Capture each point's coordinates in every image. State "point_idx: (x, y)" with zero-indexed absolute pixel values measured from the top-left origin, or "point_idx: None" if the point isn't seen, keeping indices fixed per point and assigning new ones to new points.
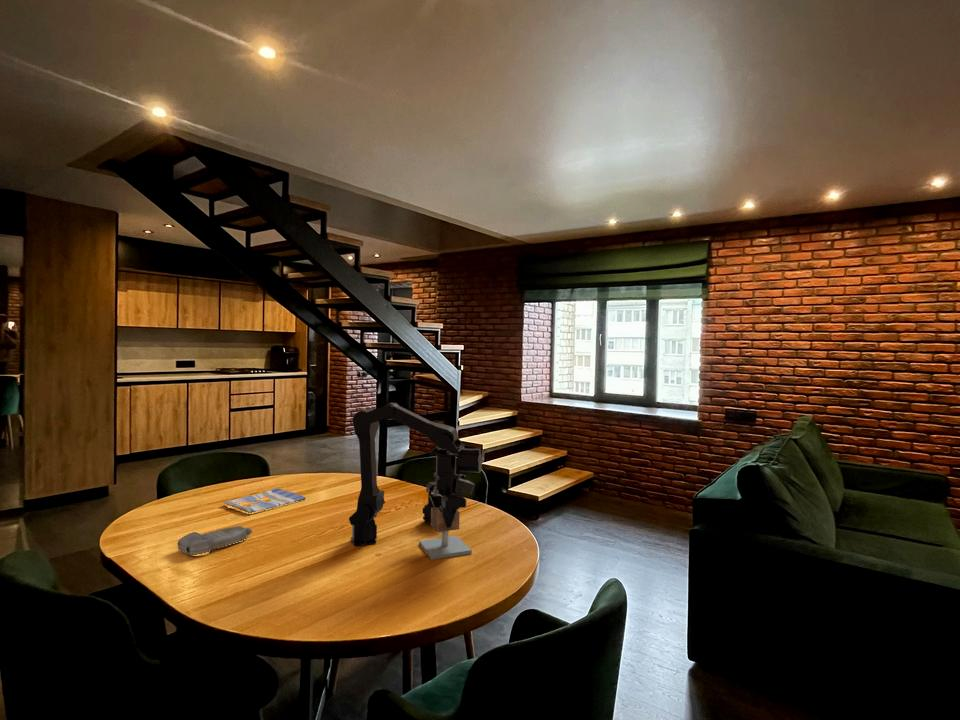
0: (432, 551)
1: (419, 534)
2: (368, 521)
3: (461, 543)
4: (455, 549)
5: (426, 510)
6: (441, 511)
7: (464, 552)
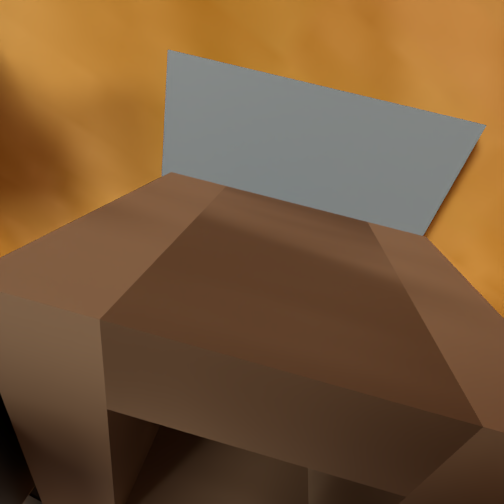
0: None
1: (43, 220)
2: (31, 493)
3: (324, 117)
4: (381, 217)
5: None
6: (144, 431)
7: (447, 182)
